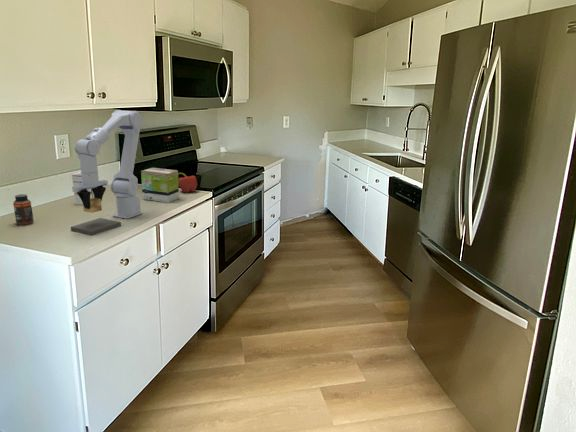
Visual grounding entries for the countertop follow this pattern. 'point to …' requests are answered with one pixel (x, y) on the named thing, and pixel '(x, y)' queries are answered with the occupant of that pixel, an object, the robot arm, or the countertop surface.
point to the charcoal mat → (95, 226)
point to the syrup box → (76, 181)
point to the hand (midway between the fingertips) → (92, 207)
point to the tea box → (160, 184)
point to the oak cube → (94, 205)
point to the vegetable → (187, 183)
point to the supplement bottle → (23, 210)
